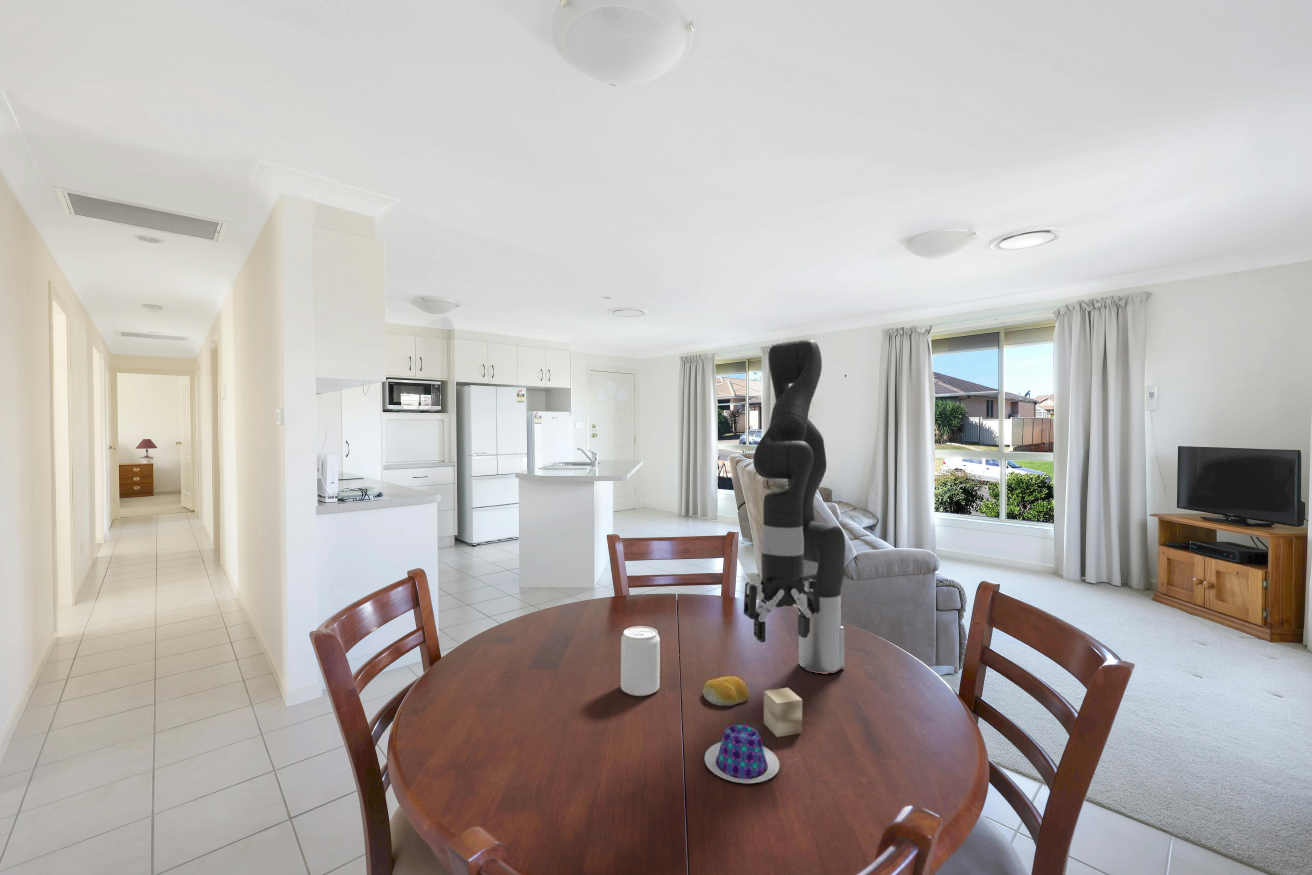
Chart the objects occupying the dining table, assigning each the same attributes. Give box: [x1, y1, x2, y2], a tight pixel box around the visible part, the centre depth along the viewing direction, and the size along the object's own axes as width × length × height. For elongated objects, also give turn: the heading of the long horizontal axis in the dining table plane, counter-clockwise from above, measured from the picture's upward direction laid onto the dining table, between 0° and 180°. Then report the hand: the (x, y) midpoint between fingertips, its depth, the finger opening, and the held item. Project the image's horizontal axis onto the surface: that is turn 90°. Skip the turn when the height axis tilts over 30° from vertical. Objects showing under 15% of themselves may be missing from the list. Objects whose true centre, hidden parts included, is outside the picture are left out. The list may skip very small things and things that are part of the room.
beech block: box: [763, 687, 803, 738], centre depth 101 cm, size 5×5×6 cm
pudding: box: [704, 724, 780, 784], centre depth 90 cm, size 12×12×5 cm
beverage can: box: [620, 625, 661, 697], centre depth 116 cm, size 8×8×12 cm
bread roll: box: [702, 675, 749, 707], centre depth 113 cm, size 8×9×4 cm
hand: (781, 638), depth 101 cm, fingers open, 8 cm apart
